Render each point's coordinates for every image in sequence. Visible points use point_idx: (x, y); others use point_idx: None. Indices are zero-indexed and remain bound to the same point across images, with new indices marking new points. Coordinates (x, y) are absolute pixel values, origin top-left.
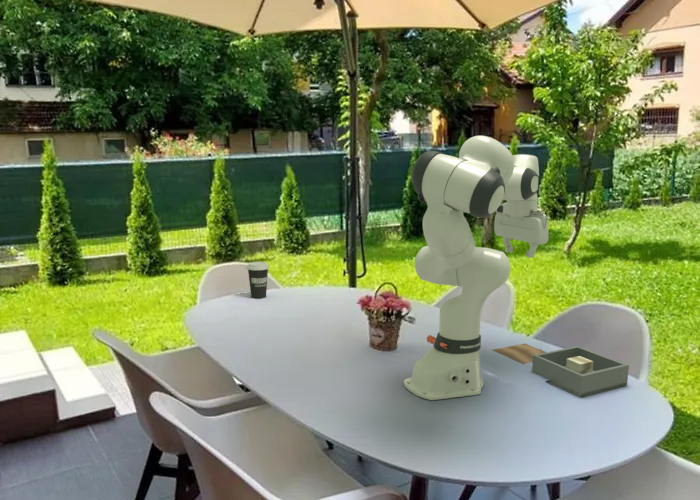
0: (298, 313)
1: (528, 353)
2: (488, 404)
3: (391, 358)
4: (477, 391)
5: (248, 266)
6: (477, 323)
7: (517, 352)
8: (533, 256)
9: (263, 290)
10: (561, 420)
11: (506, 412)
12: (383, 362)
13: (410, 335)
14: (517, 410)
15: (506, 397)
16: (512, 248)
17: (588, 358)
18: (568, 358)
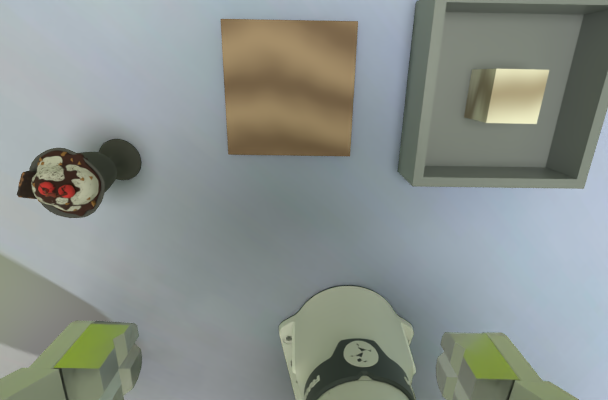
0: None
1: (297, 81)
2: None
3: (172, 362)
4: (412, 336)
5: None
6: None
7: (276, 104)
8: (503, 343)
9: None
10: (573, 279)
11: (491, 332)
12: (187, 383)
13: (27, 253)
14: (498, 313)
15: (449, 295)
16: (114, 354)
17: (481, 7)
18: (488, 117)
